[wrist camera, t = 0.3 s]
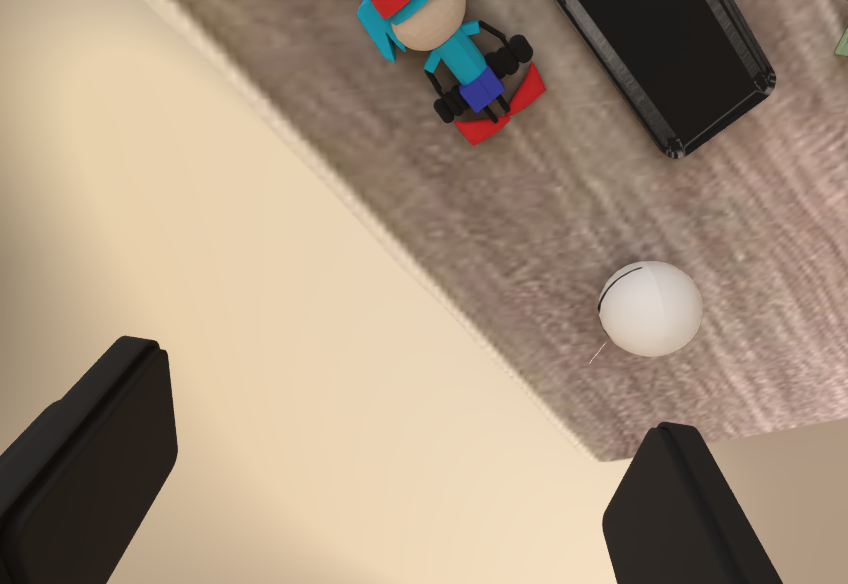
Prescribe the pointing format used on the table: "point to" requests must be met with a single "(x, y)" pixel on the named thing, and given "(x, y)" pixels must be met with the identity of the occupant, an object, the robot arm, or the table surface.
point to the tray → (843, 45)
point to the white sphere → (650, 308)
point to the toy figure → (455, 58)
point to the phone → (676, 64)
